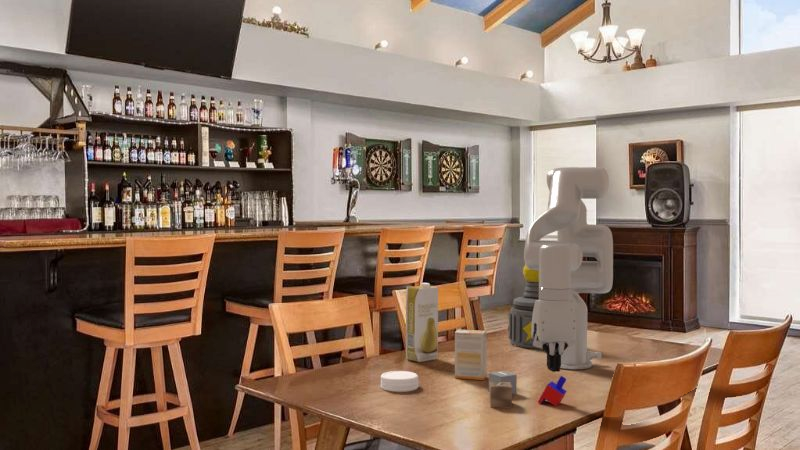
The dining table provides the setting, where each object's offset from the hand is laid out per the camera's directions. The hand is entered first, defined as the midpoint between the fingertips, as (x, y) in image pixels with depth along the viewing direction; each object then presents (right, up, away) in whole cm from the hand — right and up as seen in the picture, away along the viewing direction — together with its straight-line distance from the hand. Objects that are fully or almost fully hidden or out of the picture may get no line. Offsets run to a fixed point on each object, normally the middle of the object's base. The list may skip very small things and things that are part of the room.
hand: (553, 370), depth 170 cm
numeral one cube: (-11, -8, +9) cm, 16 cm away
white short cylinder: (-37, -8, +14) cm, 41 cm away
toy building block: (0, -8, 0) cm, 8 cm away
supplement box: (-18, -8, +25) cm, 32 cm away
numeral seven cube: (-13, -8, -2) cm, 16 cm away
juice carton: (-30, -7, +49) cm, 58 cm away
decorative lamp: (+10, -7, +75) cm, 75 cm away
